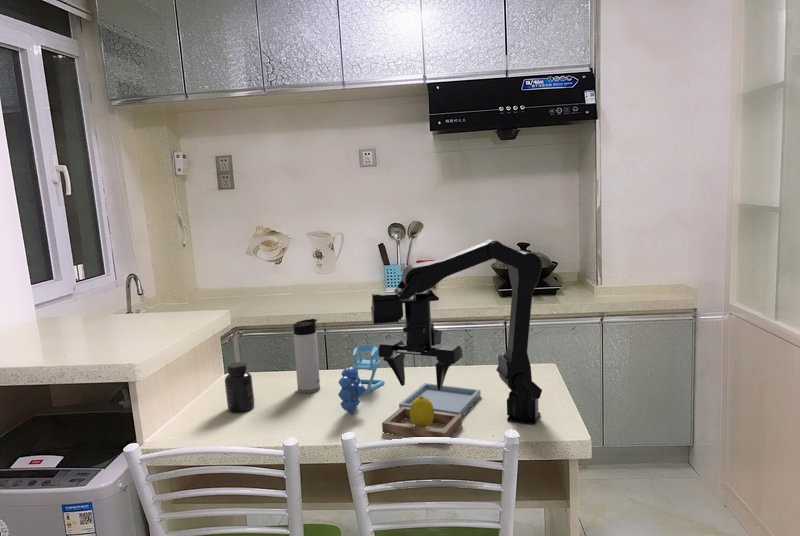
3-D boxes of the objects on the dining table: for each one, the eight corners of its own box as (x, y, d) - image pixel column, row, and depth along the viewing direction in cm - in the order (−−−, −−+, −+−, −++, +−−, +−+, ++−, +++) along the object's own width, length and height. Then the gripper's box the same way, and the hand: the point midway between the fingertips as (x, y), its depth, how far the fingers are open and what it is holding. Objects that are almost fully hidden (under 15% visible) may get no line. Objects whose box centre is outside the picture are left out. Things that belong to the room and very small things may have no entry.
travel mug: (325, 389, 158) (320, 320, 155) (303, 395, 155) (298, 324, 152) (315, 383, 163) (310, 316, 161) (294, 389, 160) (289, 320, 157)
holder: (462, 425, 130) (461, 415, 130) (445, 444, 121) (444, 433, 121) (402, 416, 137) (402, 406, 137) (382, 433, 128) (382, 422, 128)
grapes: (361, 422, 134) (358, 374, 133) (334, 421, 136) (331, 373, 134) (373, 404, 146) (371, 359, 144) (348, 403, 147) (346, 359, 145)
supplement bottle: (246, 401, 152) (242, 358, 150) (259, 407, 147) (255, 363, 145) (222, 409, 147) (218, 365, 145) (235, 415, 142) (231, 370, 141)
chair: (350, 392, 155) (347, 350, 154) (359, 381, 163) (356, 342, 162) (376, 393, 154) (374, 351, 152) (384, 382, 162) (382, 342, 160)
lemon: (432, 435, 126) (431, 401, 125) (408, 433, 127) (407, 400, 126) (436, 424, 131) (434, 392, 130) (412, 423, 132) (411, 391, 131)
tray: (480, 396, 148) (480, 389, 147) (459, 419, 134) (459, 412, 133) (425, 389, 155) (424, 383, 155) (399, 410, 141) (399, 403, 140)
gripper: (469, 315, 129) (471, 380, 131) (397, 310, 137) (400, 372, 139) (451, 326, 119) (454, 397, 121) (375, 321, 127) (378, 387, 129)
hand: (421, 387), depth 128 cm, fingers open, 9 cm apart
